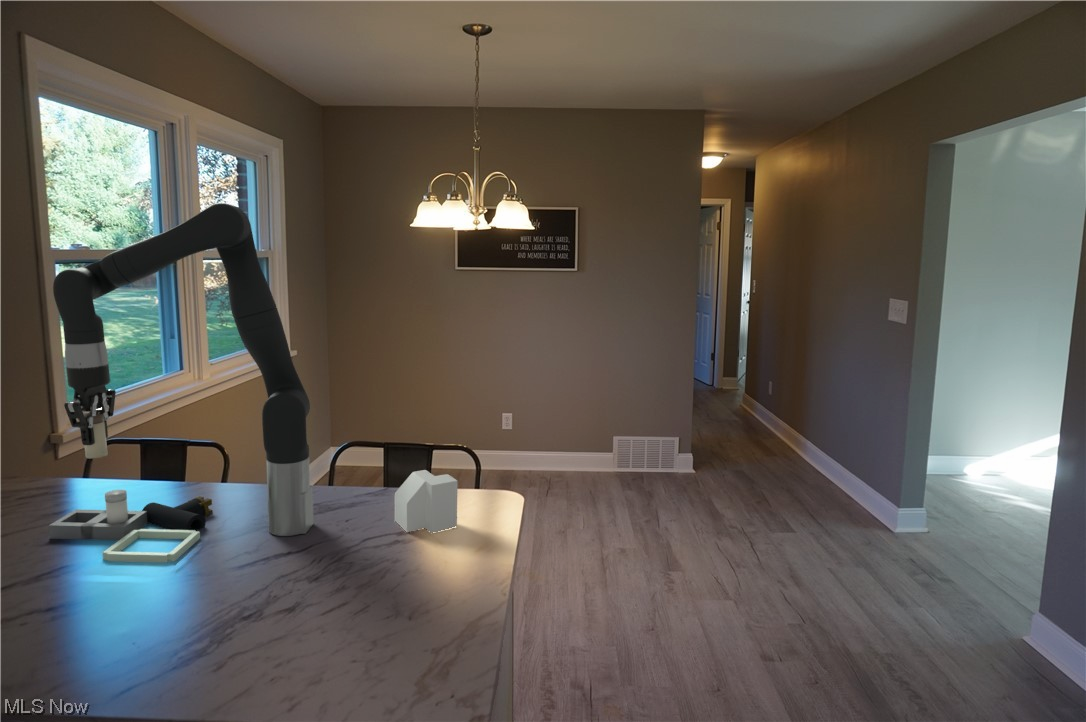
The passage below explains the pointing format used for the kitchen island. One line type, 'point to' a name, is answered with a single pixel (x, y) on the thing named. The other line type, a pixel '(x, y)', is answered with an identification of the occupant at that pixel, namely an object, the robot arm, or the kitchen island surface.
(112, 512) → the cylinder
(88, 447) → the cylinder
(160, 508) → the pipe connector
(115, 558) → the parts tray
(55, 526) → the fuse block
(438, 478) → the pale house-shaped block
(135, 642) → the kitchen island surface
